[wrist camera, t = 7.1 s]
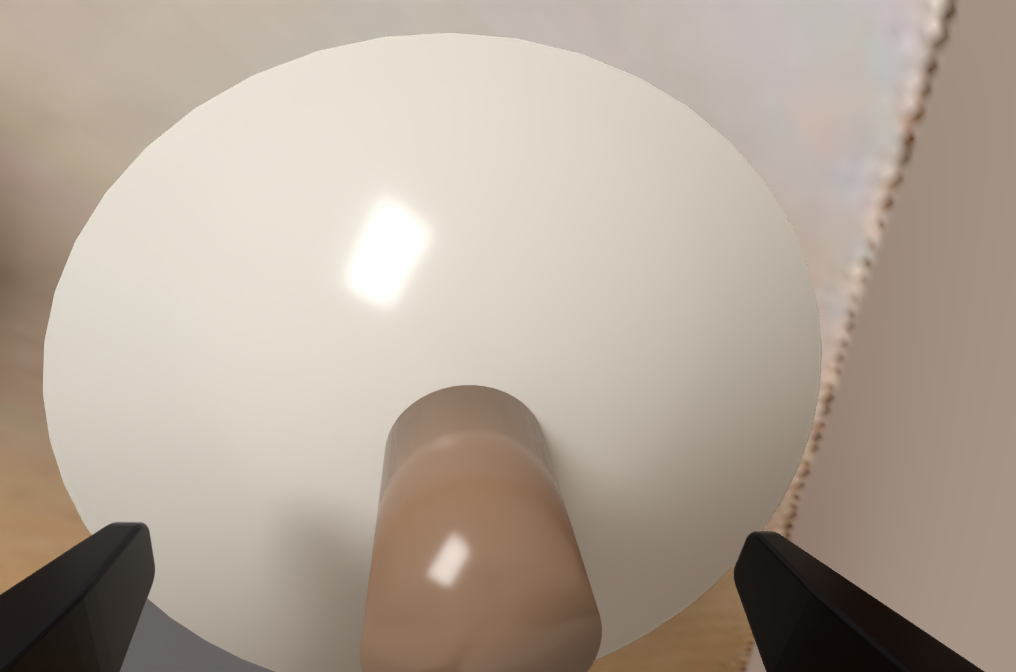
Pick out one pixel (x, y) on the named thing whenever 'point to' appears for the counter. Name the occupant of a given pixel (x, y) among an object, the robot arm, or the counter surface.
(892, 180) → the counter surface
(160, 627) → the mat
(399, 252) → the lid
